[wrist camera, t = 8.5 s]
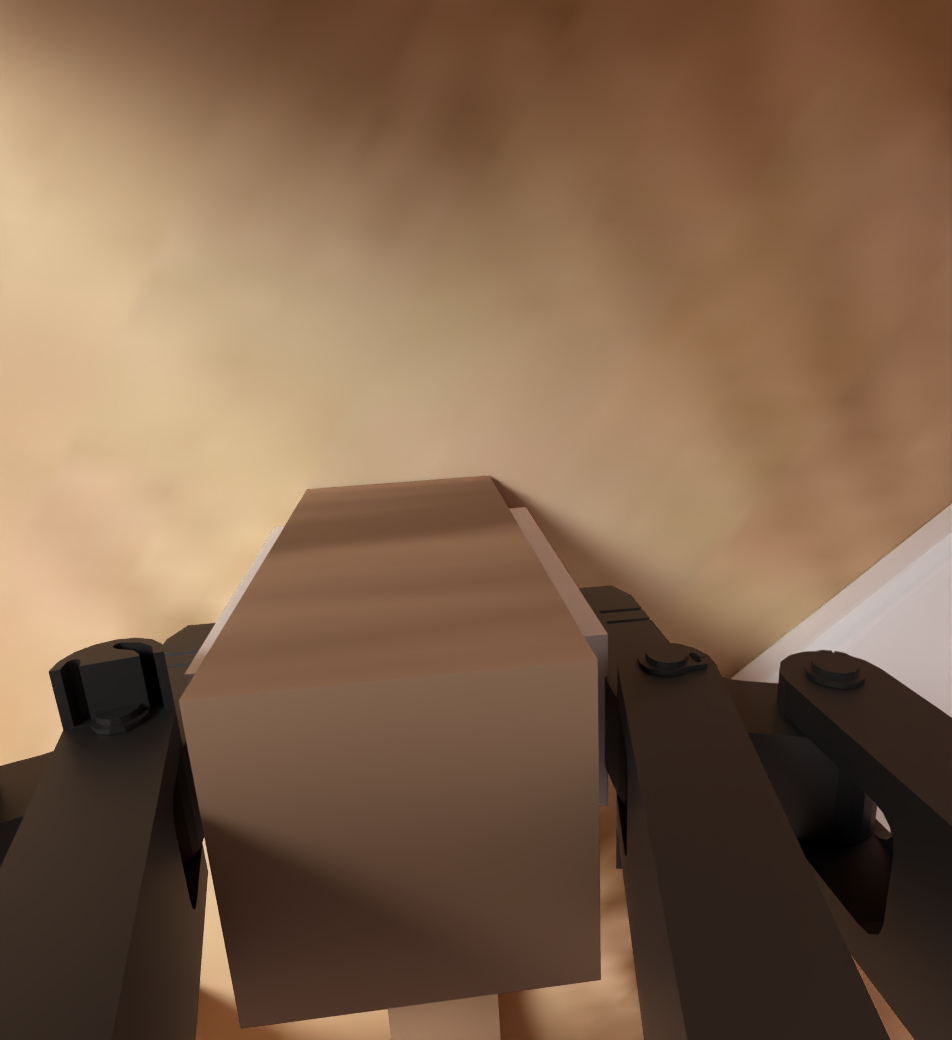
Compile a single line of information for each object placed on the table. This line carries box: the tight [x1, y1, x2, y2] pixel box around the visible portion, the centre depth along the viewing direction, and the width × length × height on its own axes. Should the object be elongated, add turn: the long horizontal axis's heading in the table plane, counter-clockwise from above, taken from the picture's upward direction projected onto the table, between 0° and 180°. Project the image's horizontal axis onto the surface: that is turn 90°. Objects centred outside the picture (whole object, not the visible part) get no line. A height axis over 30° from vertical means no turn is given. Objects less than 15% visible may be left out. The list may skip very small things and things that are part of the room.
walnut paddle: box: [179, 476, 601, 1040], centre depth 14 cm, size 20×4×9 cm, turn 3°
